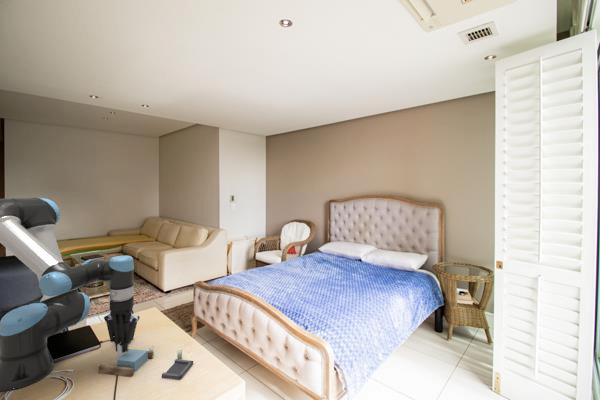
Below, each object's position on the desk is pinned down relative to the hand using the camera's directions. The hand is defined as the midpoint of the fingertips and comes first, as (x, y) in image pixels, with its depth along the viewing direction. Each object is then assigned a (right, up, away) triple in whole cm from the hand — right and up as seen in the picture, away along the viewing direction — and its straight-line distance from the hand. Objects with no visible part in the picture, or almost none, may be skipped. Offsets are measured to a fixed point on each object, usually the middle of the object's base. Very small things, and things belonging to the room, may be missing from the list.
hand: (121, 359), depth 104 cm
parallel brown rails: (+2, -2, 0) cm, 3 cm away
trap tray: (+22, -3, -2) cm, 23 cm away
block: (+4, -2, 0) cm, 5 cm away
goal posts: (+14, -2, +6) cm, 15 cm away
